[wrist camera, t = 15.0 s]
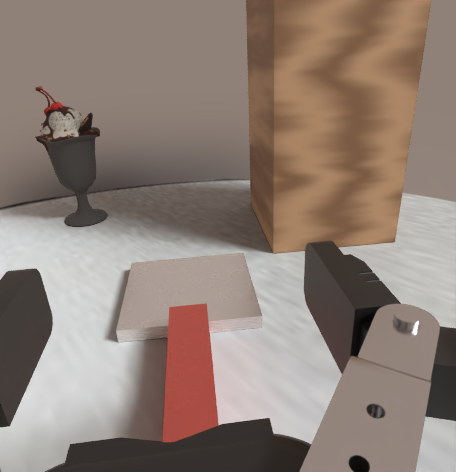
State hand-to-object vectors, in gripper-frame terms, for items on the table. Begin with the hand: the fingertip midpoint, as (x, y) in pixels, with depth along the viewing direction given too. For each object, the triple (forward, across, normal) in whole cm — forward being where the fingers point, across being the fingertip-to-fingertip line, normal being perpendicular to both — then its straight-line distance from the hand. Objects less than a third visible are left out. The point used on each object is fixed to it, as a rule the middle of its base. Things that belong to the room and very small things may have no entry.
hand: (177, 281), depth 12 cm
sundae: (+35, +12, +12) cm, 39 cm away
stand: (+29, -14, +11) cm, 34 cm away
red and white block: (+11, 0, +12) cm, 16 cm away
